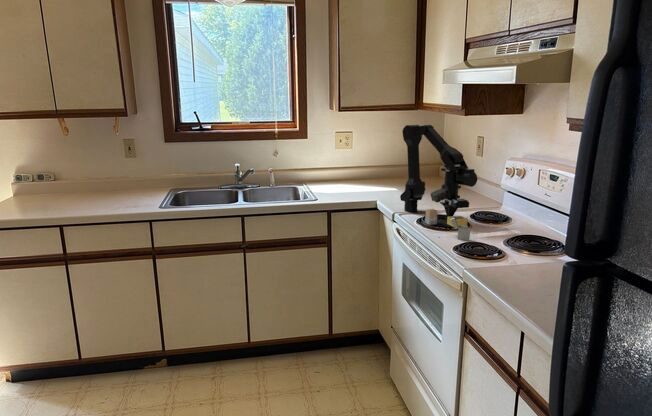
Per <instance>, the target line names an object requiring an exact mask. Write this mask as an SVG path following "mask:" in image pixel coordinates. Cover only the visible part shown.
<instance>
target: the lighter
mask: <svg viewBox="0 0 652 416" xmlns="http://www.w3.org/2000/svg"><path fill="white" fill-rule="evenodd" d="M451 221H452V224H453V226H454V227H453V226H452V227H453V228H454V230H457V240H459V241H460V240H461V241H467V242H468V241H470V239H471V238H470V237H471V228H469V226H468V225H467V226H464V225H462V226H460V227H459V226H458V224H457V221H456V219H455V217H454V218H451Z"/></svg>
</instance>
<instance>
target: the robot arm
mask: <svg viewBox="0 0 652 416" xmlns="http://www.w3.org/2000/svg"><path fill="white" fill-rule="evenodd" d="M423 136H424V137H425V138H426V139H427V141H428V142H429V143H430V144H431V145H432V146H433V147H434V148H435V150H437V152H438V154H439V156H440V157H439V158H440V160H441V162H442V163H443V165H444V166H443V167H442V168H441V169H440V171H442V172H444V184H441V188H440V189H436V190H435V191H432V192H430V197H431V201H432V202H435V203H440V204H441V205H442V206H443V207H444V211H445V215H446V219H447V218H448V217H450V216H455V214H456V212H457V210H458V209H464V208H465V209H466V208H470V202H469V200H467V199H465V198H461V196H460V195H459V190H461V188H462V186H466V187H470V188H471V187H472V188H473V187H475V186H476V184H477V182H478V175H477V173H476V172H475V169H474V168H469V166H468V165H467V163H466V161H465V159H464V155H463V153H462V152H460V151H459V150H458V149H457V148H455V147H452V146H451V145H450V144H448V143H447V142H446V140H445V139H444V138H443V137H442V136H441V135H440V134H439V132H438V131H437V130H436V129H435V128H434V126H433V125H432V124H422V125H420V124H406V125H405V126H404V127H403V128H402V137H403V138H402V139H403V141H404V143H405V144H406V147H407V149H406V150H407V169H408V170H407V172H408V175H407V176H408V179H407V181H406V183H405V187H404V188H405V189H404V191H403V192H402V193H401V194H400V195H399V198H400V201H402V202H404V207H403V208H404V210H403V211H404V212H406V213H412V214H415V213H418V203H419V202H418V201H422V200H423V197H424V195H425V191H427V190H426V181H423V180H422V179H421V175H420V174H421V171H420V167H421V166H420V147H419V146H420V143H421V142H422V140H423Z"/></svg>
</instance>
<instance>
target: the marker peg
mask: <svg viewBox="0 0 652 416" xmlns="http://www.w3.org/2000/svg"><path fill="white" fill-rule="evenodd" d="M424 217H425V219H424V223H425V224H427V225H429V226H431V225H434V226H435V225H437V224H438V210H436V209H434V208H430V209H429V208H426V209H425V216H424Z"/></svg>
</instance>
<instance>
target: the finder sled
mask: <svg viewBox="0 0 652 416" xmlns="http://www.w3.org/2000/svg"><path fill="white" fill-rule="evenodd" d="M454 217H455V219H456V221H457V224H458V226H459V227H462V225H464V226H468V218H467V217H464V216H463V215H453V216H450V217H448V218H447V217H446V219H447V221H446V225H448V226H451V227H453V228H454V226H453V224H452V221H451V218H454Z"/></svg>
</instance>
